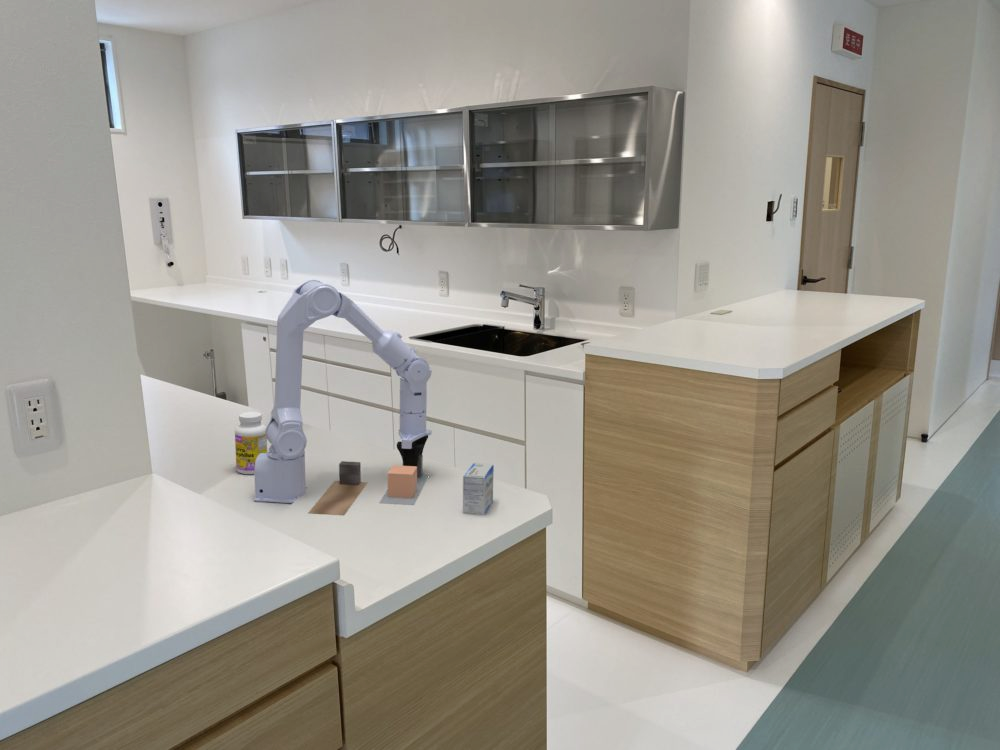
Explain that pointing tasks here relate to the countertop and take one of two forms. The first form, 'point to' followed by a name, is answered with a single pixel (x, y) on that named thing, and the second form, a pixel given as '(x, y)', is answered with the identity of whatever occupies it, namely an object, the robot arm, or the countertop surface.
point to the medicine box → (478, 489)
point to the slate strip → (411, 501)
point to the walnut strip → (341, 491)
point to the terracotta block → (402, 481)
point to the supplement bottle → (249, 441)
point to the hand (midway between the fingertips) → (412, 470)
